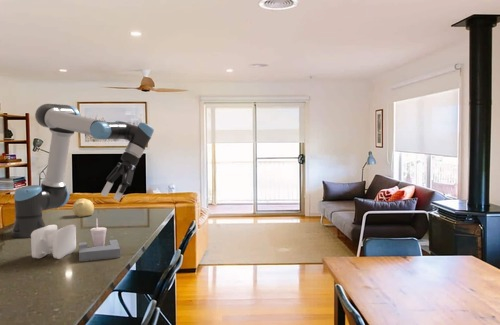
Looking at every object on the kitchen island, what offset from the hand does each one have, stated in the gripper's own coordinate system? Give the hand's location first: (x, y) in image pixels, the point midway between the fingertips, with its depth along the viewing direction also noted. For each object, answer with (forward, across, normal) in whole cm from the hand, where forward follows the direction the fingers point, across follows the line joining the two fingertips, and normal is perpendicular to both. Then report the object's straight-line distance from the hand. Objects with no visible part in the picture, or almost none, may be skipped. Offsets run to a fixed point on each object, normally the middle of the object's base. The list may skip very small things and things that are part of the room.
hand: (109, 197), depth 183 cm
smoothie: (+22, -8, -4) cm, 24 cm away
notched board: (+23, -11, -2) cm, 25 cm away
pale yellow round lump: (+12, +77, -26) cm, 82 cm away
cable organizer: (+30, -2, +10) cm, 32 cm away
